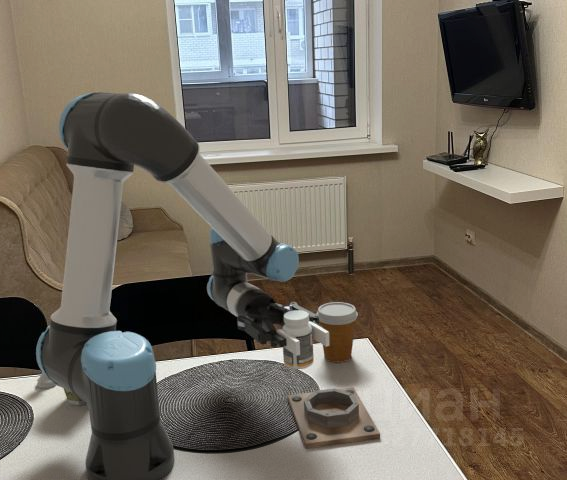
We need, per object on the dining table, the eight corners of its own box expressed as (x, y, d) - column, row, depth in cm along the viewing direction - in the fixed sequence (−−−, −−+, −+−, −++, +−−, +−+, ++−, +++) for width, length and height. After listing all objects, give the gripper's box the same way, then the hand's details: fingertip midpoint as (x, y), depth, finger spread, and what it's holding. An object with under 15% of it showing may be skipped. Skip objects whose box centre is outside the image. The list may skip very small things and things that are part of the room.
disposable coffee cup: (363, 362, 150) (363, 313, 147) (323, 368, 148) (322, 318, 145) (350, 345, 159) (350, 299, 156) (313, 350, 157) (311, 304, 154)
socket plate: (305, 448, 118) (305, 431, 117) (287, 399, 135) (287, 384, 134) (380, 438, 120) (380, 421, 119) (353, 391, 137) (353, 376, 136)
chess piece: (32, 387, 144) (27, 354, 142) (45, 377, 149) (40, 345, 147) (50, 389, 143) (45, 356, 141) (63, 379, 147) (58, 347, 145)
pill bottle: (314, 356, 125) (312, 308, 123) (313, 370, 120) (311, 320, 117) (284, 356, 126) (282, 308, 123) (282, 370, 120) (279, 321, 118)
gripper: (290, 311, 142) (355, 349, 122) (212, 333, 133) (269, 377, 113) (289, 279, 140) (354, 312, 120) (209, 298, 131) (266, 337, 111)
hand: (312, 343), depth 117 cm, fingers closed on pill bottle, 6 cm apart
